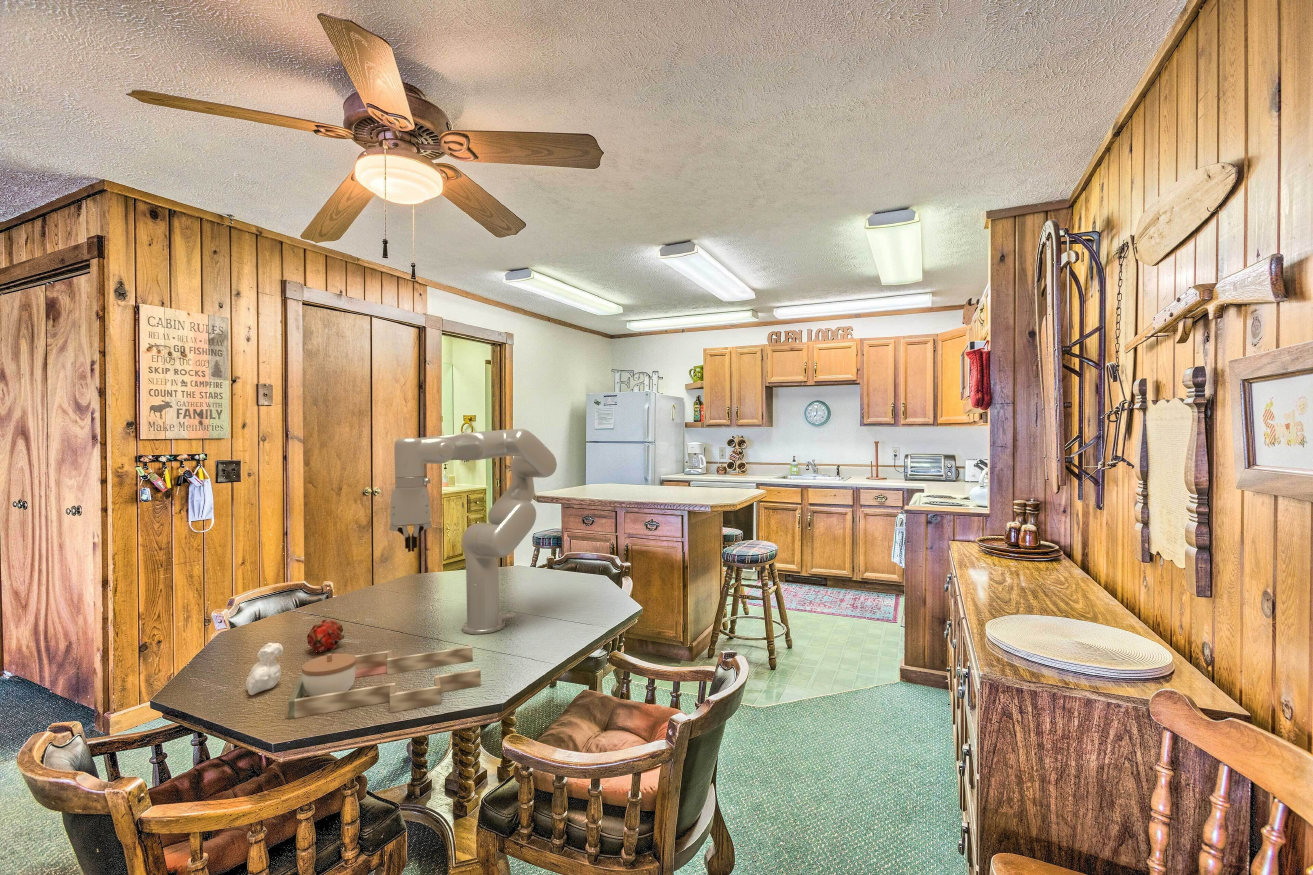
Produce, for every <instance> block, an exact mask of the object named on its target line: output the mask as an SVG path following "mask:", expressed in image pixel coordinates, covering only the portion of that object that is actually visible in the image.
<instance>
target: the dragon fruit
mask: <svg viewBox="0 0 1313 875" xmlns="http://www.w3.org/2000/svg"><path fill="white" fill-rule="evenodd" d="M320 622H321V623H320V624H319V623H318V624H314V625H313V626H312V627H311V629H310V631H309V632H308V634H307V635H306V641H307V645H308V646H309V647H310V648H311V649H312V650H314V654H316V655H317V654H319V653H318V652H320V651H323V652H325V651H326V650H328V649H330V648H331V649H333V650H334V649H336V648H337V647H338V645H339V643H340V642H341V641H342V640H344V639H345V637H346V636H345V635H344V634H342V633H343V632H344V627H343V625H342V624H341V623H340V622H337V620H336V619H330V620H329V621H327V619H323V620H321V621H320ZM331 649H330V650H331ZM316 651H317V652H316Z"/></svg>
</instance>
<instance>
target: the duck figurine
mask: <svg viewBox="0 0 1313 875" xmlns="http://www.w3.org/2000/svg"><path fill="white" fill-rule="evenodd" d="M283 654H284V647H283V645H282V644H281V643H279V642H270V641H269V642H268V643H267V644H265V645H264V646H263V647H261V648H260V649H259V652H257V655H256V656H257V658H258V659H259V661H257V662H256V663H255V664H254V665H253V666H252V668H251V669H250V672H249V674H248V676H247V678H246V681H245V687H246V689H247V693H248V694H249V695H250V696H254V695H256V694H258V693H261V692H264V691H267V690H269V689H272V688H274V687H275V686H276V684H278V682H279V681H280V678H281V675H282V670H281V665H280V664H279V663H278V662H277V660H276V658H277V657H281V656H282V655H283Z"/></svg>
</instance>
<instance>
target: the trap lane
mask: <svg viewBox="0 0 1313 875" xmlns="http://www.w3.org/2000/svg"><path fill="white" fill-rule="evenodd" d="M473 650H474V648H473V646H472V645H470V646H464V647H458V648H456V647H455V648H450V649H449V648H448V649H444V650H437V651H436V650H435V651H431V652H425V653H418V654H411V655H410V654H409V655H403V656H397V657H393V650H385V651H377V652H371V653H366V654H365V653H364V654H359V655H355V656H356V659H357V661H356V674H355V679H358V678H364V677H363V676H366V677H370V676H369V675H372V676H376V675H378V676H379V675H383V674H386V675H393V674H398V673H405V672H412V671H418V670H424V669H431V668H437V667H443V666H444V667H445V666H451V665H455V664H461V663H469V662H474V660H473V656H474V654H473V652H474V651H473ZM481 674H482V673H481V668H477V669H469V670H465V671H458V672H453V673H452V672H451V673H447V674H439V675H435V676H433V683H434V684H433V686H429V687H423V688H418V689H410V690H406V691H399V692H396V682H391V683H386V684H380V685H379V684H378V685H373V686H366V687H362V688H355V689H349V690H348V691H342V692H336V693H330V694H324V695H317V696H311V697H310V696H307V697H305V696H304V695H305V693H306V691H305V688H304V685H303V677H302V672H301V673H300V676H299V677H298V680H297V683H296V685H295V687H294V690H293V692H292V694H291V695H290V698H289V701H288V720H290V719H291V720H292V719H297V718H301V717H303V718H304V717H308V716H314V715H315V716H316V715H320V714H327V713H331V712H336V711H343V710H348V709H354V708H359V707H366V706H372V705H377V704H378V705H379V704H383V703H389V714H390V713H396V712H402V711H405V710H406V711H407V710H412V709H417V708H422V707H428V706H434V705H440V704H442V693H446V692H452V691H458V690H462V689H463V690H464V689H467V688H468V689H469V688H473V687H474V688H475V687H479V686H481V685H482V682H481V681H482V680H481V676H482V675H481Z"/></svg>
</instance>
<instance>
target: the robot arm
mask: <svg viewBox="0 0 1313 875" xmlns="http://www.w3.org/2000/svg"><path fill="white" fill-rule="evenodd" d="M393 444H394V445H393V447H394V448H393V449H394V450H393V451H394V452H393V453H394V458H393V459H394V488H393V489H391V494H390V501H389V502H390V503H389V505H390V506H389V520H390V523H389V528H388V530H389V531H391V532H392V531H393V532H398V533H400V535H402V536H403V537H404V547H405V548H404V549H405V550H406V549H407V553H411V552H414V553H415V549H417V548H418V536H419V535H420V534H421V533H422V532H423V531H425V530H429V529H430V528H432V527H433V526H432V521H431V517H432V516H431V515H432V514H431V501H430V492H429V488H428V487H427V486H426V485H427V484H431V478H428V477H425V474H426V473H425V465H426V464H433V465H438V464H440V465H442V464H446V463H447V462H449V461H481V460H488V459H496V458H504V457H505V458H506V457H513V458H512V460H511V464H510V468H511V483H510V485H509V487H508V488H507V489H506V490H505V492H504V493H503V494H502V495H501V496H500V497H499V498H498V499H497V501H496V502H494V503H493V505H492V506H491V507H490V509H489V511H488V514H487V520H488V522H489V523H483V522H477V523H474V524H471V525H469V526H468V527H467V528H466V529H465V530H464V532H463V535H462V538H461V539H462V540H461V542H462V549H463V555H464V559H465V578H466V579H465V580H466V581H465V582H466V585H465V586H466V588H465V589H466V622H464V623H463V624H462V625H461V631H462V632H463V633H465V634H469V635H470V634H471V635H482V634H484V635H485V634H489V633H490V634H491V633H494V632H495V633H496V632H497V631H500V630H503V629H504V628H505V626H506V620H514V619H516V612H514V611H513V612H510V611H505V612H503V611H501V609H500V569H499V562H498V558H499V559H501V558H502V559H503V558H505V557H508V556H509V555H511V554H512V553H513V552H514V551H515V550H516V549H517V547H518V546H519V545H520V544H521V543H522V541H523V540H524V538H525V537H527V535H528V534H529V533H530V531H531V530H532V529H533V527H534V524H535V523H536V519H537V510H536V507H535V505H534V504H533V503H532V501H533V499H534V496H535V483H534V482H535V481H534V478H541V479H543V478H549V477H551V476H553V475H554V473H556V470H557V467H558V464H557V459H556V457H555V455H554V453H553V452H552V451H551V450H550V449H549V448H548V447H547V446H546V445H545V444H544V443H543V442H542V441H541V439H539V438H538V437H537V436H536V435H534V434H533V433H532V432H531V431H529V430H527V429H525V428H516V429H515V428H514V429H499V430H497V429H496V430H485V431H483V430H482V431H474V432H472V431H471V432H463V433H458V434H449V435H438V436H424V437H423V436H422V437H405V438H397V439H396V440H395V441H394V443H393ZM409 526H413V532H412V533H411V535H410V533H409V529H408V527H409Z"/></svg>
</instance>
